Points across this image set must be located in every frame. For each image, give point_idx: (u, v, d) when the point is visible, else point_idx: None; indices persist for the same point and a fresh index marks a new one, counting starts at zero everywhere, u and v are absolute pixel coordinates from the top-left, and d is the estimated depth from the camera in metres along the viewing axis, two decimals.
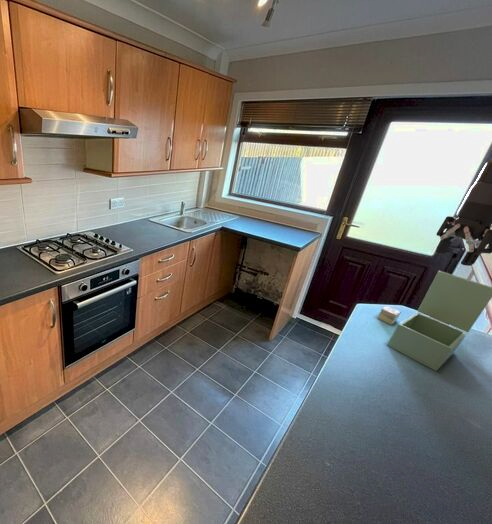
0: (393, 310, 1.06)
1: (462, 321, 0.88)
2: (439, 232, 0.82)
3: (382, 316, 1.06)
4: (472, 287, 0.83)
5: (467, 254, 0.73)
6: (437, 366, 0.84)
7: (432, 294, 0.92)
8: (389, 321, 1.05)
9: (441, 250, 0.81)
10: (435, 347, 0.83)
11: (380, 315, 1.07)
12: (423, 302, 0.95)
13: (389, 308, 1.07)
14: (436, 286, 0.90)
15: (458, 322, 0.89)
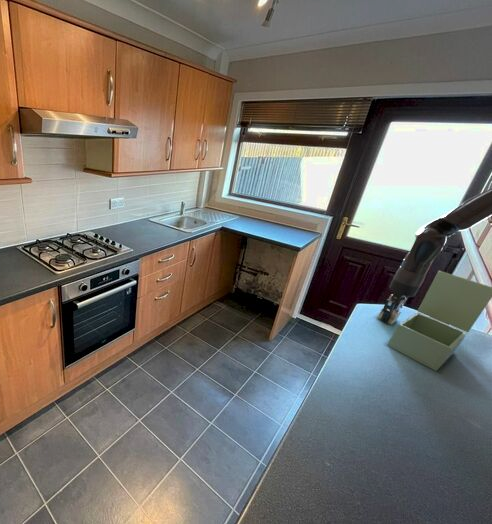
0: None
1: (462, 321, 0.88)
2: None
3: None
4: (472, 287, 0.83)
5: (383, 313, 1.06)
6: (437, 366, 0.84)
7: (432, 294, 0.92)
8: (389, 321, 1.05)
9: None
10: (435, 347, 0.83)
11: (380, 315, 1.07)
12: (423, 302, 0.95)
13: None
14: (436, 286, 0.90)
15: (458, 322, 0.89)
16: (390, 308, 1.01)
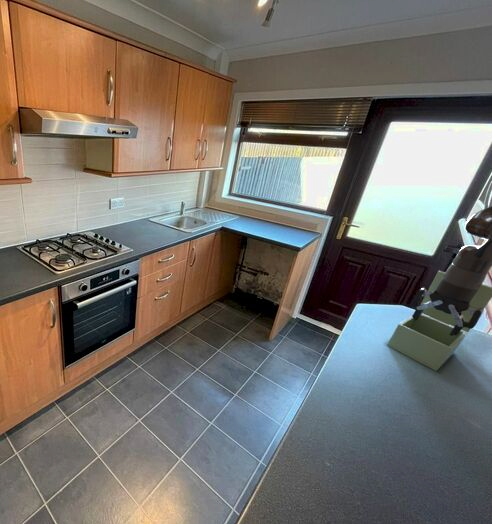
0: None
1: None
2: (414, 302, 0.89)
3: None
4: None
5: (455, 328, 0.82)
6: (437, 366, 0.84)
7: None
8: None
9: (418, 318, 0.90)
10: (435, 347, 0.83)
11: None
12: (423, 302, 0.95)
13: None
14: (436, 286, 0.90)
15: None
16: None
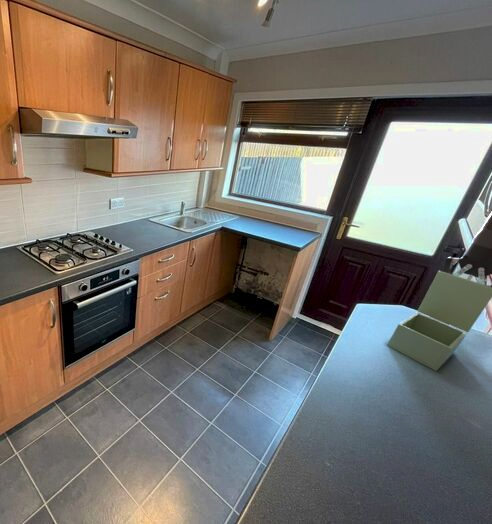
0: None
1: (462, 321, 0.88)
2: (446, 272, 0.90)
3: None
4: (472, 287, 0.83)
5: None
6: (437, 366, 0.84)
7: (432, 294, 0.92)
8: None
9: None
10: (435, 347, 0.83)
11: None
12: (423, 302, 0.95)
13: None
14: (436, 286, 0.90)
15: (458, 322, 0.89)
16: None
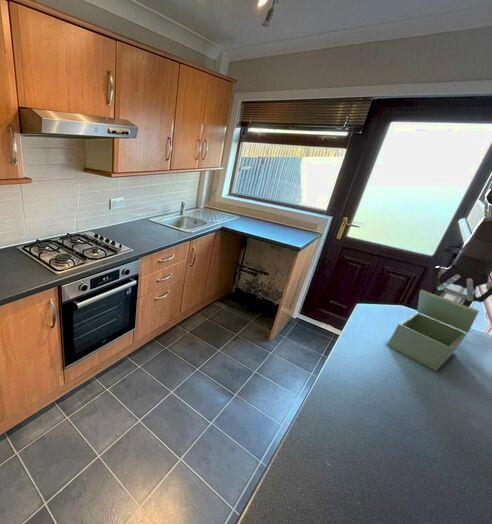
0: None
1: (459, 325, 0.88)
2: (434, 282, 0.87)
3: None
4: (455, 307, 0.81)
5: (465, 302, 0.82)
6: (437, 366, 0.84)
7: (423, 304, 0.91)
8: None
9: None
10: (435, 347, 0.83)
11: None
12: (419, 307, 0.94)
13: None
14: (423, 300, 0.89)
15: (456, 325, 0.89)
16: None
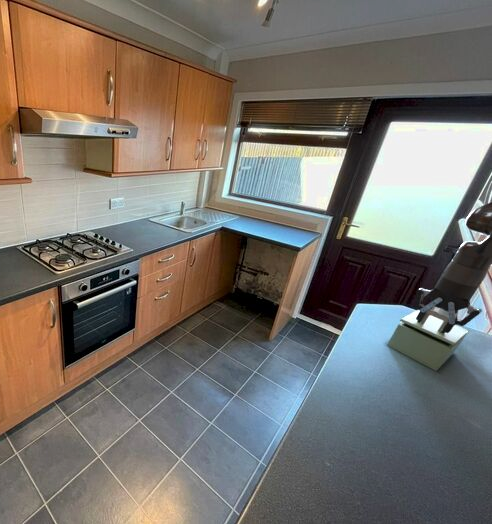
0: None
1: None
2: (417, 304, 0.87)
3: None
4: None
5: (447, 325, 0.82)
6: (437, 366, 0.84)
7: None
8: None
9: (421, 320, 0.87)
10: (435, 347, 0.83)
11: None
12: None
13: None
14: None
15: None
16: None
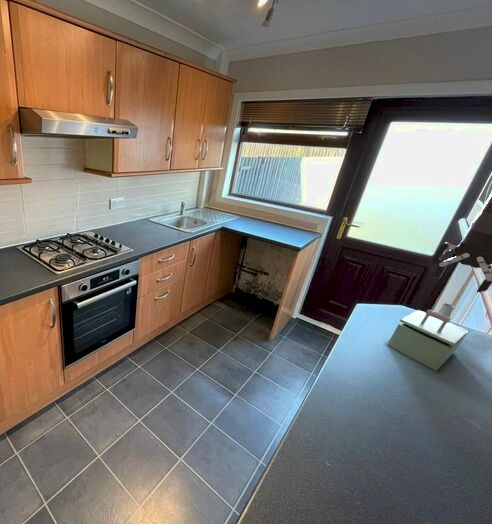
0: None
1: None
2: (436, 259, 0.81)
3: None
4: None
5: (484, 283, 0.74)
6: (437, 366, 0.84)
7: None
8: None
9: (440, 276, 0.82)
10: (435, 347, 0.83)
11: None
12: None
13: None
14: None
15: None
16: None
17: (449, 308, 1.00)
